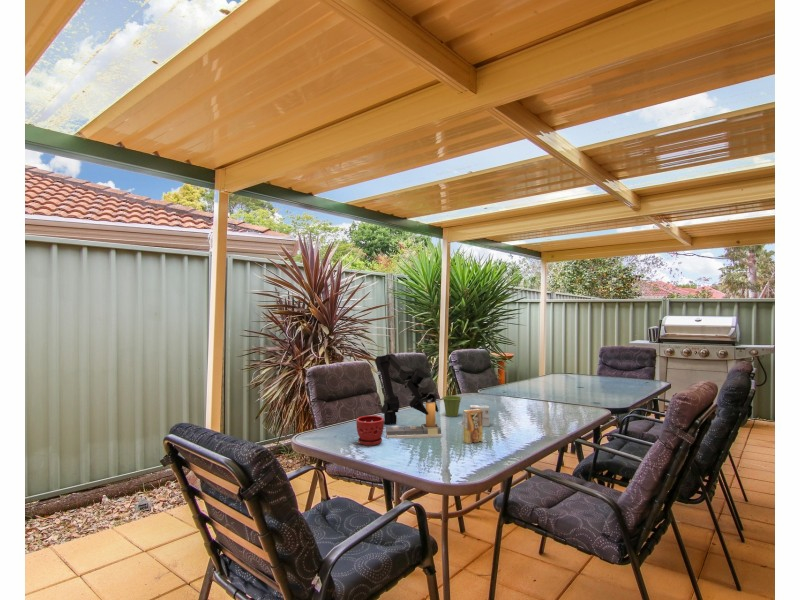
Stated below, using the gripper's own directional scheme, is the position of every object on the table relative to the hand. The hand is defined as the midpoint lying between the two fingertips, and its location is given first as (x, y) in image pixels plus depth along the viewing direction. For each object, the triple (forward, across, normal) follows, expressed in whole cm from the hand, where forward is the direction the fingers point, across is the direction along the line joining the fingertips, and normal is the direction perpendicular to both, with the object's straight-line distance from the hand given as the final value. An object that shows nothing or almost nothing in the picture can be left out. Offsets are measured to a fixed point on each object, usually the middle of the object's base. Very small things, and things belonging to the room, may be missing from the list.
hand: (432, 412), depth 234 cm
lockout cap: (+5, 0, +7) cm, 8 cm away
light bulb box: (+14, +34, +2) cm, 37 cm away
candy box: (+24, +1, -8) cm, 25 cm away
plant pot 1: (-2, -32, +18) cm, 37 cm away
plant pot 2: (-4, +45, +20) cm, 50 cm away
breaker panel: (+2, -7, +14) cm, 15 cm away
